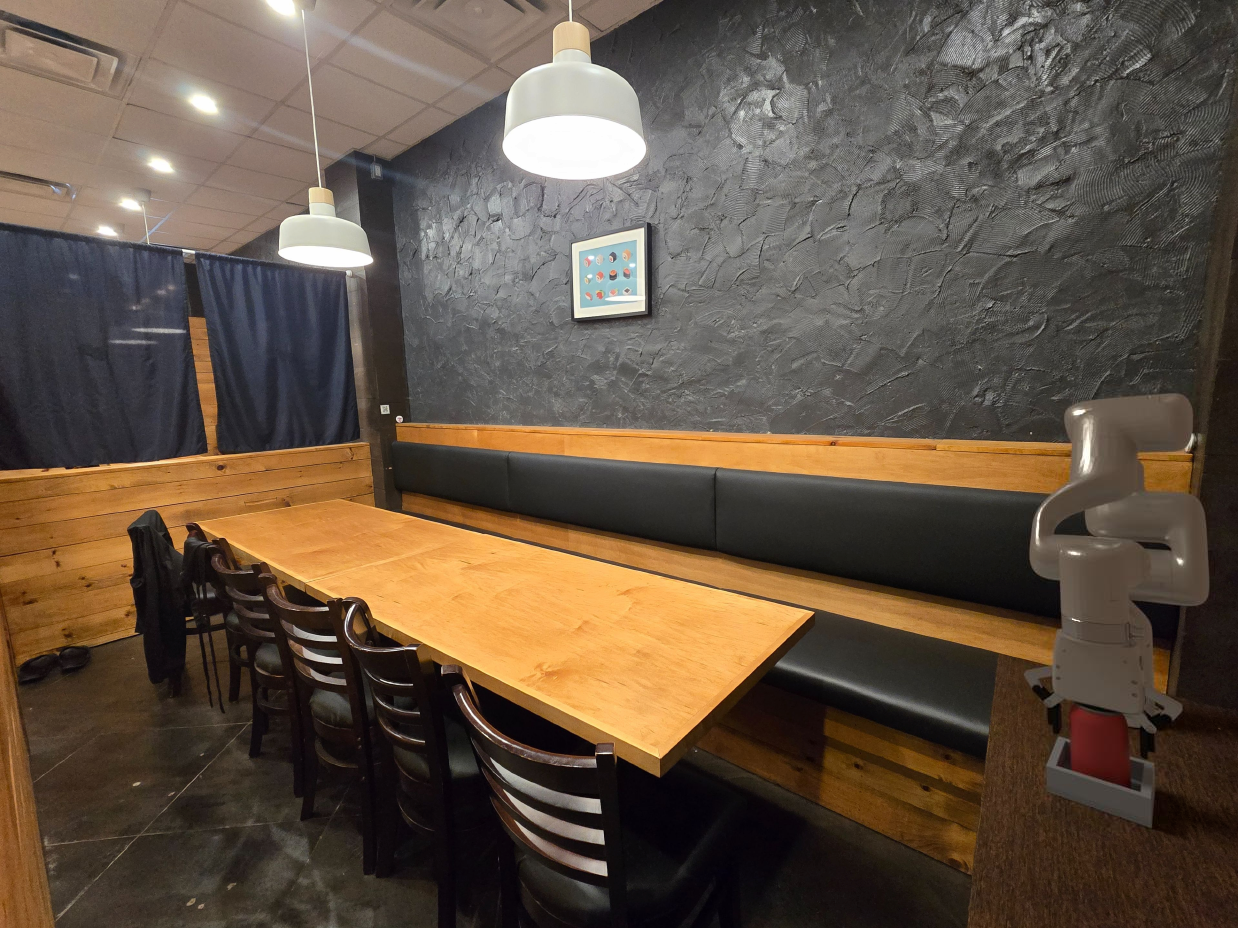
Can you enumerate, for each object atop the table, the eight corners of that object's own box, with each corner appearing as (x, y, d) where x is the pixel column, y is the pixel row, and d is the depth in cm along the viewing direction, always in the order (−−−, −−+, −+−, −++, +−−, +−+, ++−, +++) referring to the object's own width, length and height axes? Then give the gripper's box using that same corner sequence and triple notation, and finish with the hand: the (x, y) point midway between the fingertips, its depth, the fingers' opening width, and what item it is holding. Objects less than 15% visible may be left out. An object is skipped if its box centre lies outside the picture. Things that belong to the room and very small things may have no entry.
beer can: (1143, 799, 74) (1140, 716, 74) (1090, 796, 75) (1086, 714, 75) (1110, 771, 81) (1107, 694, 80) (1061, 768, 82) (1058, 693, 82)
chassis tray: (1059, 760, 86) (1058, 736, 86) (1155, 789, 78) (1154, 762, 77) (1047, 791, 78) (1046, 765, 78) (1151, 828, 70) (1150, 798, 70)
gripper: (1180, 634, 74) (1184, 753, 74) (1027, 611, 86) (1031, 713, 87) (1179, 650, 69) (1184, 778, 69) (1017, 623, 81) (1021, 731, 82)
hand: (1099, 742), depth 78 cm, fingers open, 9 cm apart
